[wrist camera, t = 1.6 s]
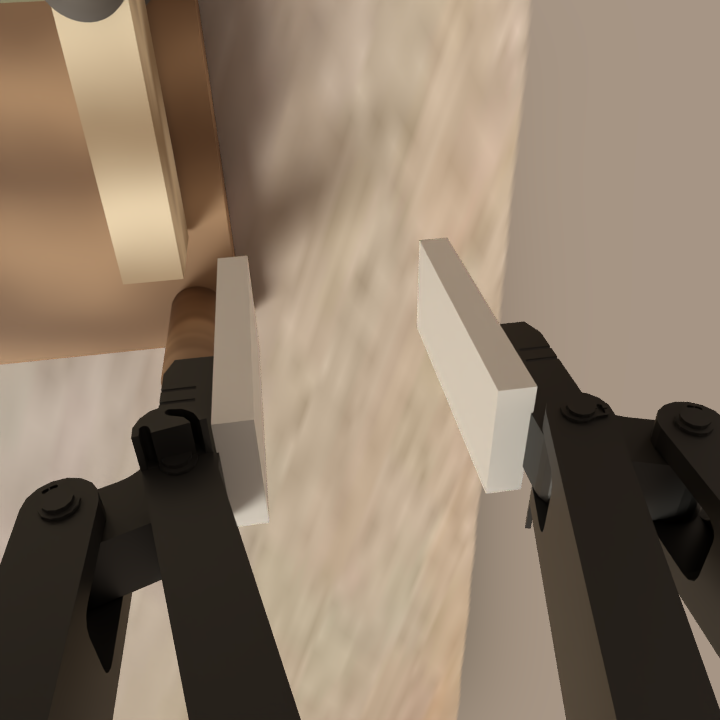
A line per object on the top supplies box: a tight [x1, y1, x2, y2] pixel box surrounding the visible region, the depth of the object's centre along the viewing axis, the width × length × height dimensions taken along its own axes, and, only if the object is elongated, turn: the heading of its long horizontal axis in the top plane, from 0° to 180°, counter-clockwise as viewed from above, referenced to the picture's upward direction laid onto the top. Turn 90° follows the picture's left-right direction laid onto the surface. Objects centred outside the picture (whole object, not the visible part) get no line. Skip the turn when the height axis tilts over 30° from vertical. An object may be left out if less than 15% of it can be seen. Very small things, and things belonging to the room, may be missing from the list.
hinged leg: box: [45, 0, 189, 284], centre depth 25 cm, size 12×3×5 cm, turn 1°
